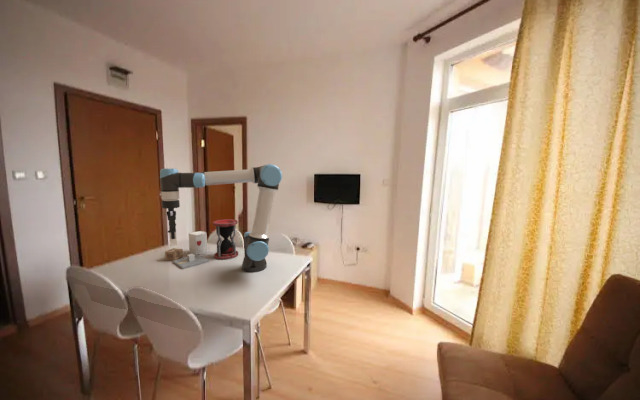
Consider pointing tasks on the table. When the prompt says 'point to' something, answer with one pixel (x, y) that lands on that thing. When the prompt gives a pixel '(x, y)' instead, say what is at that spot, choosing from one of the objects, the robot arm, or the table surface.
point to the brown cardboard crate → (174, 254)
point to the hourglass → (225, 239)
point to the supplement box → (197, 242)
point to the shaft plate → (190, 261)
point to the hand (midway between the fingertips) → (173, 241)
